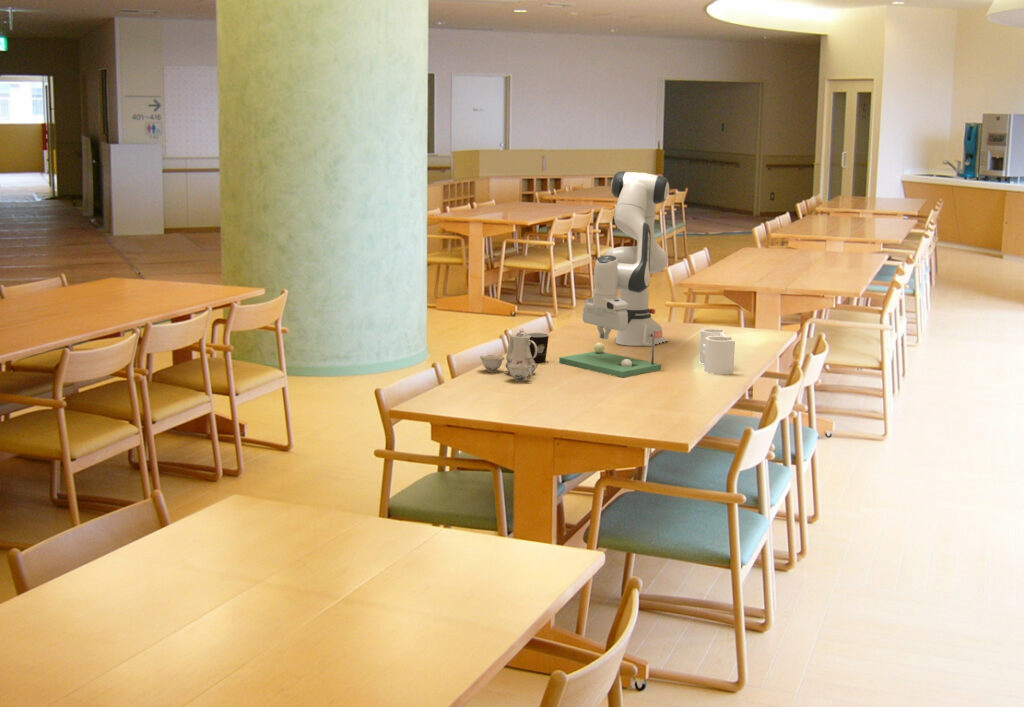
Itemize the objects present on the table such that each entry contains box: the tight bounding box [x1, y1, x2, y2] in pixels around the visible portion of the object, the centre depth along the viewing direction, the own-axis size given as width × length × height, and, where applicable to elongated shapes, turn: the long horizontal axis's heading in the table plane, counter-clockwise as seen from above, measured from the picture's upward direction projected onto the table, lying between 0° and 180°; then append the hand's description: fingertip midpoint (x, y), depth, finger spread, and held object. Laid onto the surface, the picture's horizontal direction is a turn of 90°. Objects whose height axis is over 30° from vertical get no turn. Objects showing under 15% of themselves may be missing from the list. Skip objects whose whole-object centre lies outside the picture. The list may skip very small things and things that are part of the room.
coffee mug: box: [526, 332, 550, 364], centre depth 409 cm, size 12×9×10 cm
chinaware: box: [480, 328, 538, 382], centre depth 386 cm, size 28×17×17 cm, turn 39°
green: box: [558, 351, 662, 378], centre depth 402 cm, size 20×32×2 cm, turn 41°
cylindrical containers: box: [699, 328, 736, 375], centre depth 401 cm, size 25×10×12 cm, turn 179°
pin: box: [650, 330, 663, 365], centre depth 396 cm, size 5×1×12 cm, turn 130°
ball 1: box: [593, 342, 605, 353], centre depth 416 cm, size 4×4×4 cm
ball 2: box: [621, 359, 632, 367], centre depth 396 cm, size 4×4×4 cm
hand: (603, 338), depth 403 cm, fingers closed
